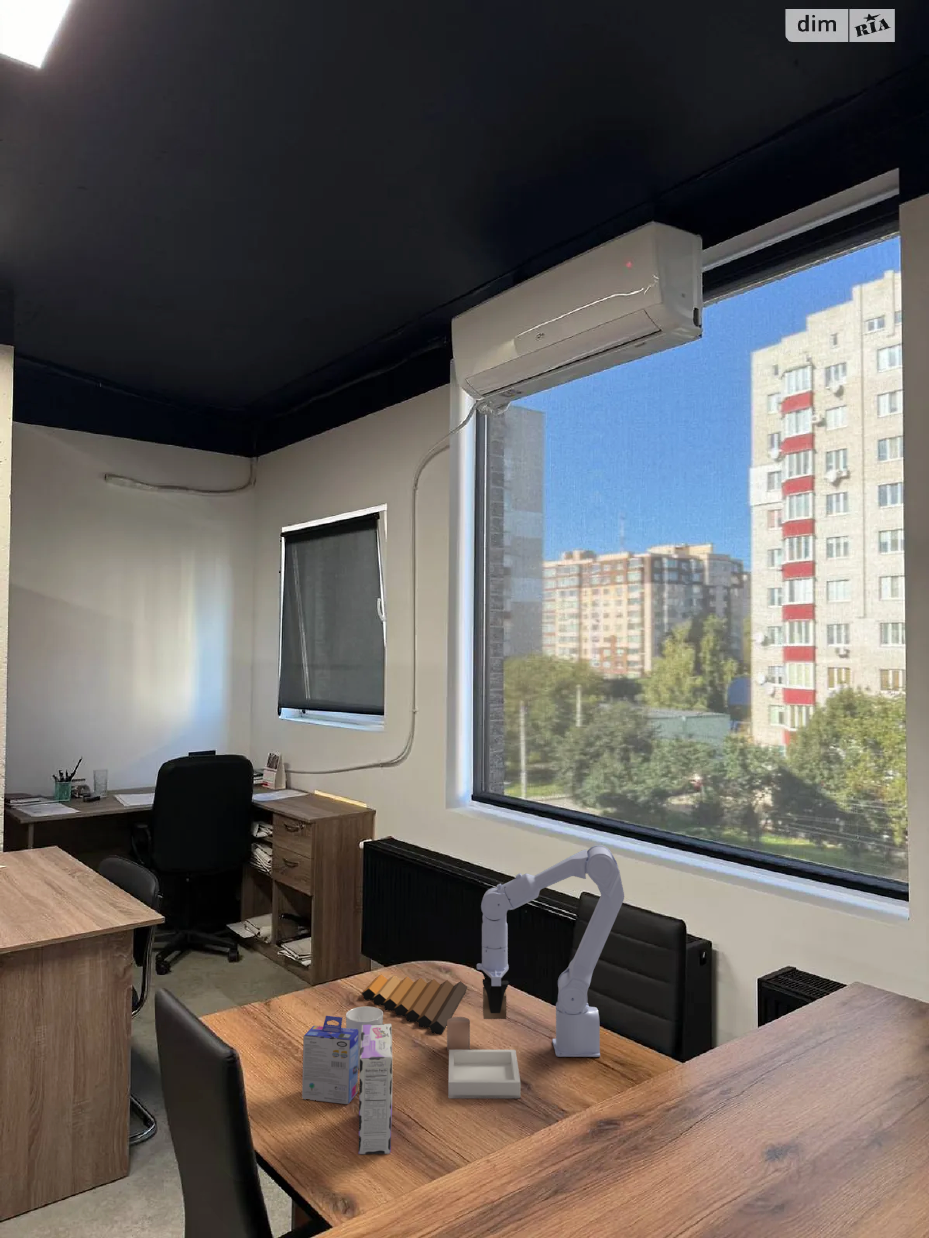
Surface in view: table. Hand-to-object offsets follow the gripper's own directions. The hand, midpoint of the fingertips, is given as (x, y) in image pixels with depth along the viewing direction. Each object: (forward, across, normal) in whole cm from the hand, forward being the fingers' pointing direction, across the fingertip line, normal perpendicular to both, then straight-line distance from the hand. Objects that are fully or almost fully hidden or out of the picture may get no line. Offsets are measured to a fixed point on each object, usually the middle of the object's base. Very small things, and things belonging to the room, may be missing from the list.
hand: (494, 1007), depth 187 cm
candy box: (+8, +35, -23) cm, 43 cm away
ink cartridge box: (+8, +22, -33) cm, 41 cm away
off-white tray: (+8, +16, -3) cm, 18 cm away
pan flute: (+9, -20, -21) cm, 30 cm away
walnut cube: (+2, 0, 0) cm, 2 cm away
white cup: (+8, +8, -28) cm, 30 cm away
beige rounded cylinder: (+8, +2, -8) cm, 12 cm away
